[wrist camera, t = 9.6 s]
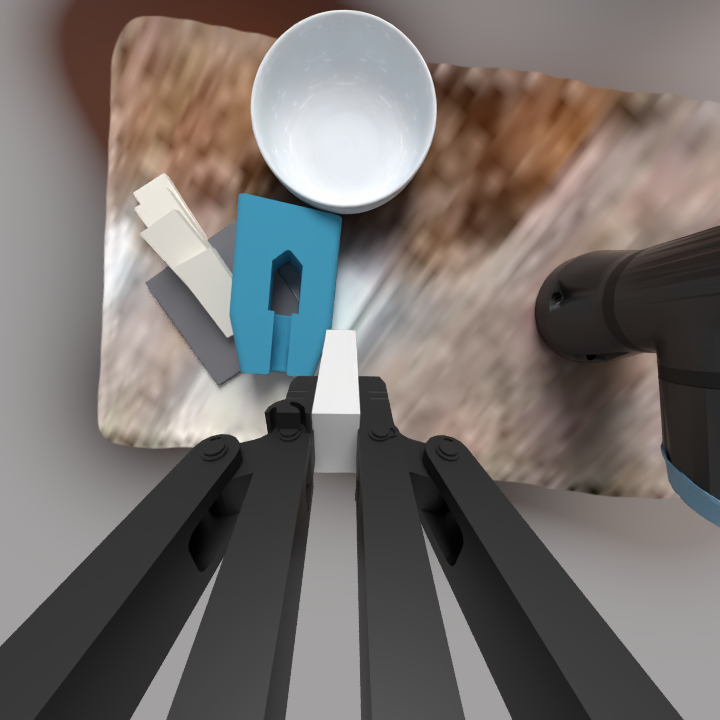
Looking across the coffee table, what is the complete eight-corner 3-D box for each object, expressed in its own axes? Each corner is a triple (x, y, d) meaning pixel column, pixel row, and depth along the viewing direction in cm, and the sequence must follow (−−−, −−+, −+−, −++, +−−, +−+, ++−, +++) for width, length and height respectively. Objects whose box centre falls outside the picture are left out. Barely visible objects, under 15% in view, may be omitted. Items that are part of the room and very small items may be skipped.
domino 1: (206, 239, 37) (164, 172, 36) (175, 258, 37) (133, 193, 36) (212, 243, 38) (172, 179, 37) (183, 262, 38) (142, 199, 38)
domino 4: (259, 320, 36) (210, 247, 32) (227, 337, 36) (173, 267, 32) (261, 317, 37) (214, 247, 34) (230, 334, 38) (179, 267, 34)
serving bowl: (394, 47, 36) (402, -22, 29) (441, 202, 37) (460, 171, 31) (246, 100, 36) (221, 44, 29) (300, 252, 38) (287, 232, 31)
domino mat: (312, 323, 38) (311, 322, 38) (220, 384, 39) (218, 385, 38) (243, 219, 37) (241, 216, 36) (149, 284, 38) (145, 282, 37)
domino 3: (234, 282, 35) (173, 208, 32) (204, 304, 36) (139, 233, 32) (237, 281, 37) (179, 211, 33) (207, 302, 37) (146, 234, 33)
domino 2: (212, 252, 35) (165, 185, 34) (181, 274, 35) (134, 208, 35) (218, 256, 37) (173, 192, 36) (189, 277, 37) (143, 214, 36)
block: (322, 373, 39) (336, 232, 38) (327, 378, 34) (343, 216, 33) (232, 367, 35) (244, 212, 35) (222, 371, 31) (237, 191, 30)
